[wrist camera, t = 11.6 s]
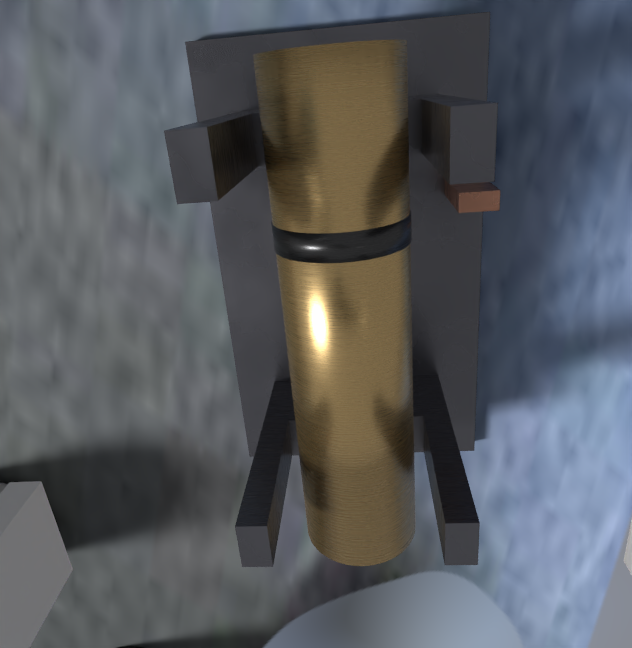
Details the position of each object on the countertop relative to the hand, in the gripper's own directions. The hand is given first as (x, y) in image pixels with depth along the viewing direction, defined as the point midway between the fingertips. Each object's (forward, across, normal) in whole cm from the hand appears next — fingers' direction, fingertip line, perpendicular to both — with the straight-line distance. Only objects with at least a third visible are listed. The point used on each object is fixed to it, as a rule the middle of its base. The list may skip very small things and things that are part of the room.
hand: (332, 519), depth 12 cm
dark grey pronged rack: (+18, 0, 0) cm, 18 cm away
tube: (+13, +1, 0) cm, 13 cm away
